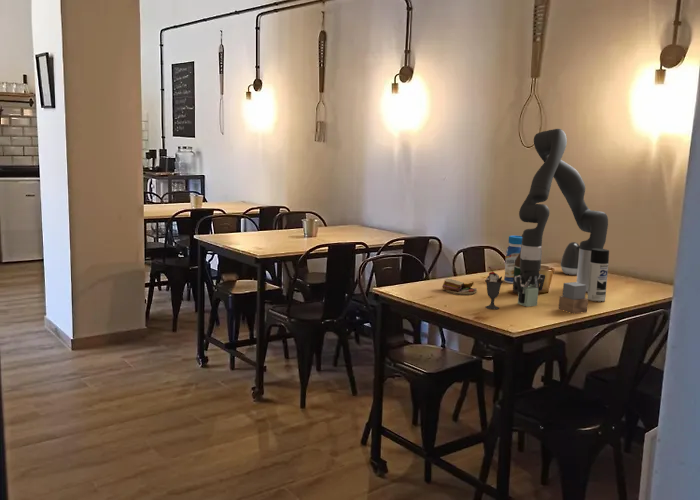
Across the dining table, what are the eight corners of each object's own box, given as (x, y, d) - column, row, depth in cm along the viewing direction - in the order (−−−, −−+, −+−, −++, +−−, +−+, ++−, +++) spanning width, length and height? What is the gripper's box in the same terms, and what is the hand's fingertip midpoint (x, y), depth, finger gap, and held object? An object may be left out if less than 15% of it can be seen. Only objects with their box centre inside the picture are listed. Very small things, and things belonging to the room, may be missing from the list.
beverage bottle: (526, 281, 295) (529, 236, 292) (519, 285, 288) (523, 238, 285) (507, 279, 300) (510, 234, 296) (500, 282, 293) (504, 236, 289)
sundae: (480, 305, 249) (483, 265, 247) (498, 305, 250) (501, 265, 247) (485, 310, 243) (488, 269, 240) (503, 310, 243) (506, 269, 241)
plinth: (572, 307, 251) (573, 294, 250) (586, 312, 245) (588, 298, 244) (558, 309, 248) (559, 296, 247) (572, 314, 242) (573, 300, 241)
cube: (573, 295, 249) (575, 282, 248) (584, 298, 244) (586, 285, 243) (562, 296, 247) (563, 283, 246) (573, 299, 242) (574, 286, 241)
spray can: (596, 302, 260) (601, 251, 257) (583, 298, 266) (587, 248, 263) (608, 301, 263) (613, 250, 260) (595, 297, 269) (599, 247, 266)
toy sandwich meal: (469, 297, 263) (470, 285, 262) (437, 292, 270) (438, 281, 269) (480, 291, 274) (481, 280, 273) (449, 287, 280) (450, 276, 280)
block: (527, 302, 256) (529, 285, 255) (537, 305, 252) (538, 288, 251) (517, 303, 254) (518, 286, 253) (526, 306, 250) (528, 289, 249)
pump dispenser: (570, 276, 310) (573, 244, 307) (555, 272, 319) (557, 240, 317) (587, 275, 314) (590, 243, 312) (571, 271, 323) (574, 240, 321)
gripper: (538, 254, 257) (534, 298, 260) (509, 256, 250) (505, 301, 253) (552, 258, 250) (549, 303, 253) (522, 260, 244) (519, 306, 246)
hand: (527, 302), depth 253 cm, fingers closed on block, 5 cm apart
